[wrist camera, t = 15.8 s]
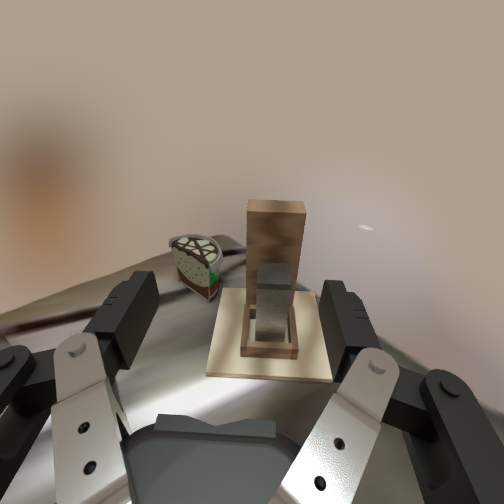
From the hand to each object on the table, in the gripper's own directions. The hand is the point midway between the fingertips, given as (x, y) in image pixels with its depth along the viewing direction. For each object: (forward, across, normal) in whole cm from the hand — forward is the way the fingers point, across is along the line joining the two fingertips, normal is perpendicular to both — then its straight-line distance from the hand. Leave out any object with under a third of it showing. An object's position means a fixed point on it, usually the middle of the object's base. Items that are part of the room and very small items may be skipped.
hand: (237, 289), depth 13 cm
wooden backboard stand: (+21, -3, +28) cm, 35 cm away
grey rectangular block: (+19, -3, +27) cm, 33 cm away
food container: (+32, +10, +28) cm, 44 cm away
